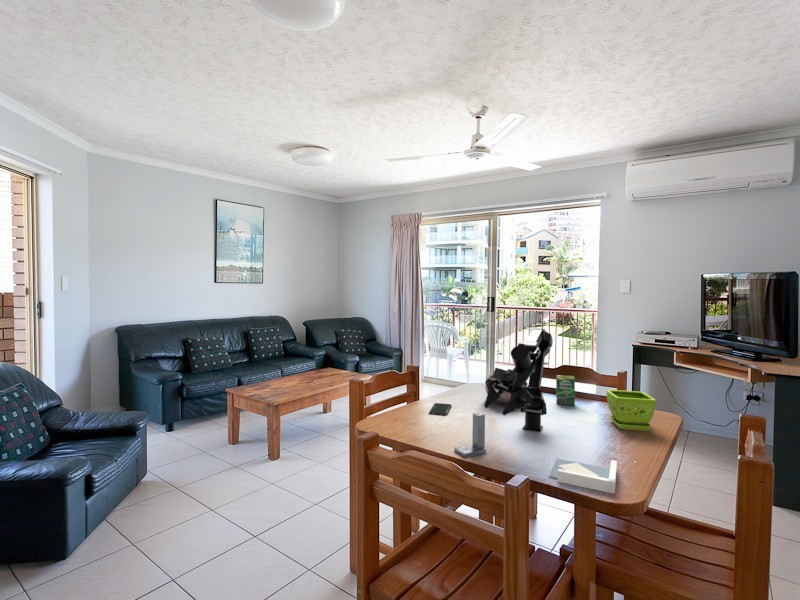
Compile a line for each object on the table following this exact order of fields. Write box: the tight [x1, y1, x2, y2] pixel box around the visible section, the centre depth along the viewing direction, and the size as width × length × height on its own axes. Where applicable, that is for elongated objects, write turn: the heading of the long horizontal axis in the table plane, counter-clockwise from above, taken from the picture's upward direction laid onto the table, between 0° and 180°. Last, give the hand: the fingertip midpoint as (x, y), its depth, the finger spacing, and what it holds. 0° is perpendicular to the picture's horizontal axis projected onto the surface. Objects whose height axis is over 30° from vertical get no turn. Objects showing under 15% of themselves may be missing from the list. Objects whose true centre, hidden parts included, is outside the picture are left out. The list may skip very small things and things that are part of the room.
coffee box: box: [555, 374, 576, 406], centre depth 193 cm, size 8×3×13 cm, turn 70°
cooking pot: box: [485, 373, 528, 406], centre depth 194 cm, size 25×19×12 cm
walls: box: [557, 459, 618, 495], centre depth 119 cm, size 16×14×3 cm
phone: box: [428, 402, 452, 417], centre depth 183 cm, size 8×1×15 cm
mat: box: [548, 458, 610, 480], centre depth 120 cm, size 14×15×1 cm
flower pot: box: [606, 389, 657, 432], centre depth 162 cm, size 14×14×13 cm
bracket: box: [454, 412, 487, 458], centre depth 136 cm, size 9×6×12 cm, turn 116°
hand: (493, 410), depth 139 cm, fingers open, 9 cm apart
